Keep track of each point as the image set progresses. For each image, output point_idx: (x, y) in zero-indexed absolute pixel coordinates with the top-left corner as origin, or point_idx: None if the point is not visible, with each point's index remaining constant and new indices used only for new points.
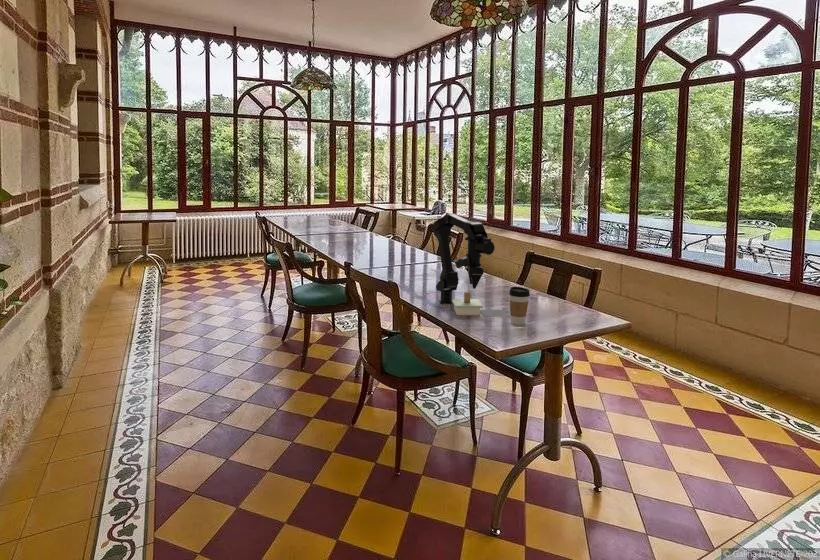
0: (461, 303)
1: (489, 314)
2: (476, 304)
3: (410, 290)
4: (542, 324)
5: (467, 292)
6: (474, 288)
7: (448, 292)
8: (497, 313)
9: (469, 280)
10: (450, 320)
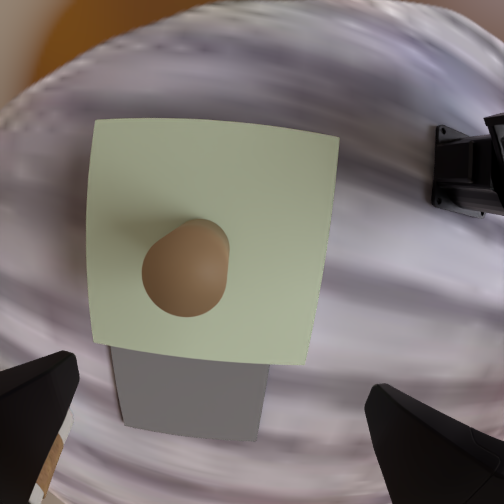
0: (162, 185)
1: (154, 359)
2: (125, 309)
3: None
4: (66, 458)
5: (181, 277)
6: (67, 368)
7: (486, 172)
8: (177, 400)
9: (417, 402)
10: (70, 103)
